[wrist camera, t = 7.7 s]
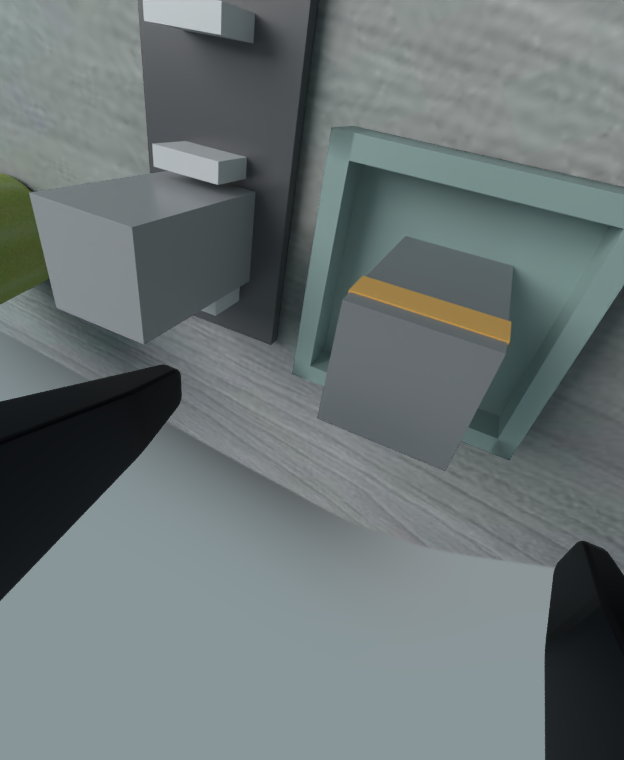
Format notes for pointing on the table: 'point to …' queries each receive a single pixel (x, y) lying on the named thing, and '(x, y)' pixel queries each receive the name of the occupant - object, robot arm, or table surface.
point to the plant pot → (18, 241)
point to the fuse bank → (194, 178)
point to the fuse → (418, 349)
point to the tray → (477, 237)
